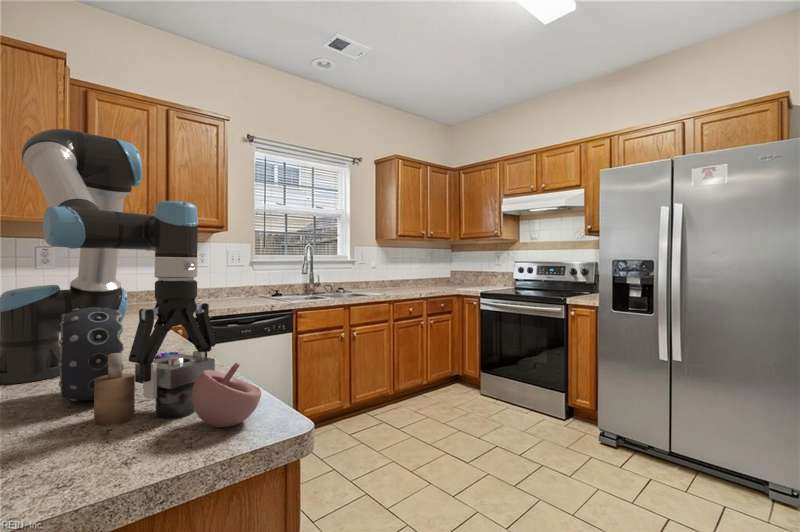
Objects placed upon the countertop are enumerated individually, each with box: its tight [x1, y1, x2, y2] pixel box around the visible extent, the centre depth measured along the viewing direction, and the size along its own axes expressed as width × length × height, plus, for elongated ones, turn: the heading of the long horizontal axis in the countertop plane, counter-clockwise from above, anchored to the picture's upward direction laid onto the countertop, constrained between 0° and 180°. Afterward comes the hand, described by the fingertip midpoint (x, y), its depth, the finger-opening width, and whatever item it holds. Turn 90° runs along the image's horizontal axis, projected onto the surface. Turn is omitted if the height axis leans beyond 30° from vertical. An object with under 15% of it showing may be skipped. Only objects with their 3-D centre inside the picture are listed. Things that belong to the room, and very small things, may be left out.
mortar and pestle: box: [192, 362, 262, 428], centre depth 77 cm, size 12×12×11 cm
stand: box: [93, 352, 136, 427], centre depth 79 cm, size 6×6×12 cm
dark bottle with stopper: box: [155, 357, 196, 420], centre depth 82 cm, size 7×7×11 cm
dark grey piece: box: [58, 307, 125, 402], centre depth 90 cm, size 11×20×20 cm, turn 37°
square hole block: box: [134, 353, 216, 389], centre depth 82 cm, size 10×10×4 cm
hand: (175, 389), depth 82 cm, fingers open, 10 cm apart
